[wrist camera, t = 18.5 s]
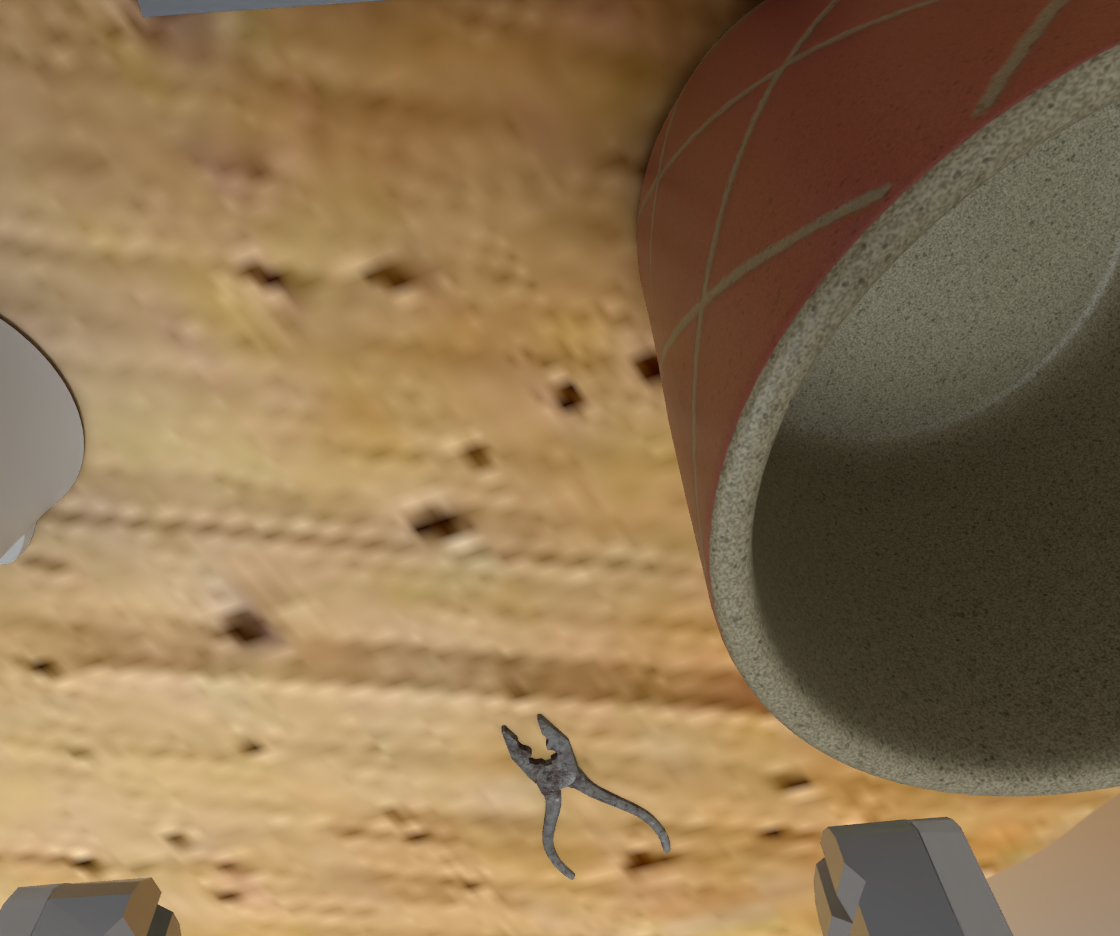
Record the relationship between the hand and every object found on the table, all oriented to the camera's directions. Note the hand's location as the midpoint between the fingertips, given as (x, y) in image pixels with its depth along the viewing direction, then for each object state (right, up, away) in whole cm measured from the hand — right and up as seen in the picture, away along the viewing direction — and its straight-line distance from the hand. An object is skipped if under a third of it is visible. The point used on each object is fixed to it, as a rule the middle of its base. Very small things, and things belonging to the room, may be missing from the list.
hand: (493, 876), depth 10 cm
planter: (+15, +17, +29) cm, 37 cm away
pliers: (+1, -20, +54) cm, 58 cm away
